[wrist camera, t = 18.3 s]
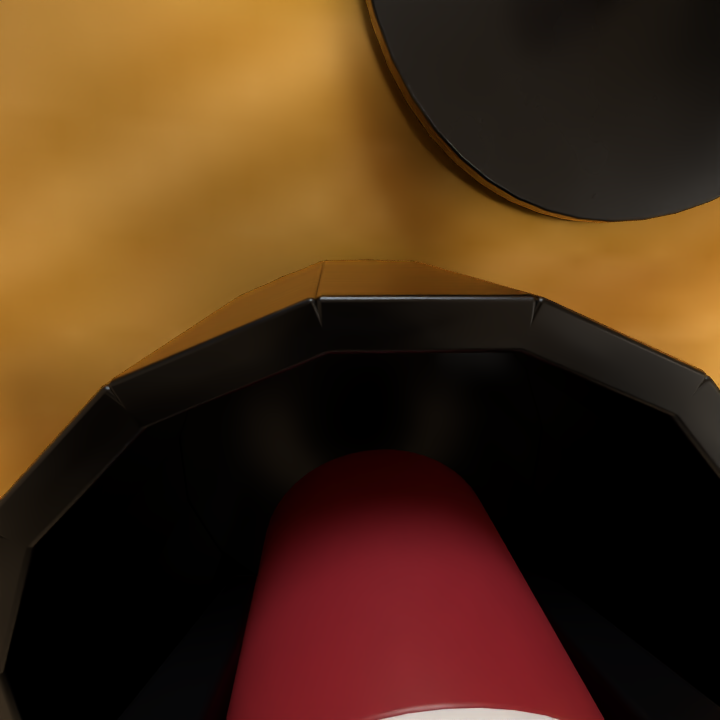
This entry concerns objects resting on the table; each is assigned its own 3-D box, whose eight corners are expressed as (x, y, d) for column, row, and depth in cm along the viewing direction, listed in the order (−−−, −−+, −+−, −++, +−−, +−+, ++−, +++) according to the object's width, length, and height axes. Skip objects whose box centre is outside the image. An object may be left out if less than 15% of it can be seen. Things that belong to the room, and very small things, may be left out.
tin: (137, 258, 10) (-210, 296, 3) (579, 260, 10) (946, 295, 4) (191, 612, 13) (64, 957, 7) (523, 593, 14) (682, 885, 8)
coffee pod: (254, 447, 7) (150, 744, 3) (501, 441, 8) (717, 700, 3) (269, 637, 9) (211, 1023, 4) (476, 624, 9) (608, 971, 5)
